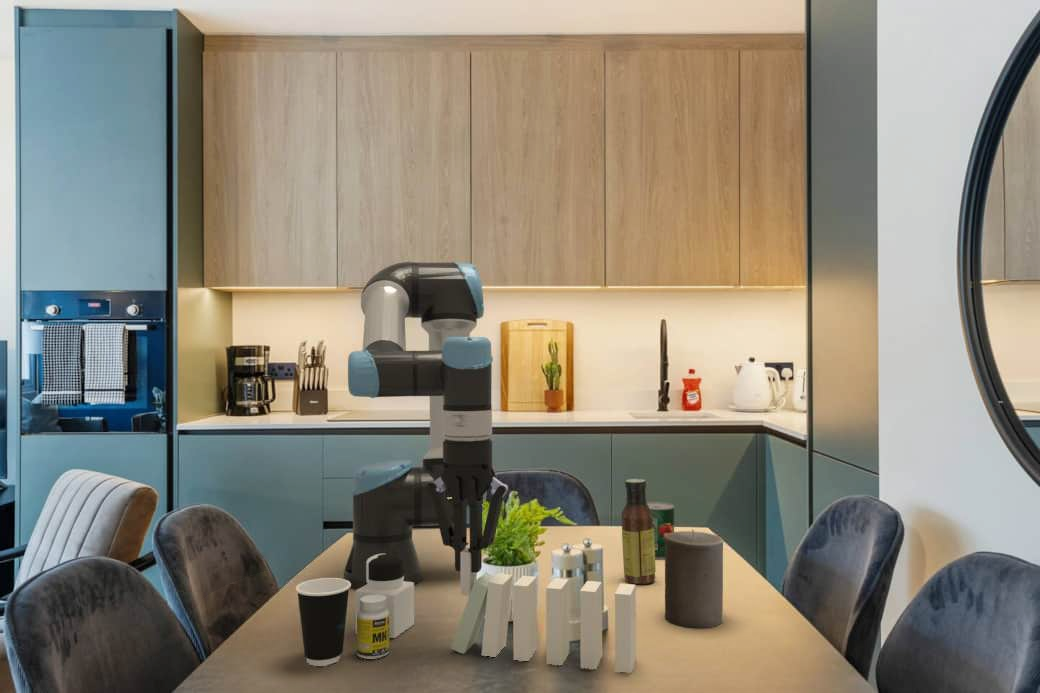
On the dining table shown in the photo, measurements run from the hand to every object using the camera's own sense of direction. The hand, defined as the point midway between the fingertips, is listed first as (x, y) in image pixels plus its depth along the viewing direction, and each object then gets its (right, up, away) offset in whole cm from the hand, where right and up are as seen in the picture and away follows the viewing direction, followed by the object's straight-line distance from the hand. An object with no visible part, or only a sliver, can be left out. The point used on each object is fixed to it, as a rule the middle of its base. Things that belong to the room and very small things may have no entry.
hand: (468, 592), depth 118 cm
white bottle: (-14, -9, +8) cm, 19 cm away
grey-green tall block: (-1, -8, 0) cm, 8 cm away
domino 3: (+13, -8, -4) cm, 16 cm away
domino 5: (+23, -8, -7) cm, 25 cm away
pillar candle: (+37, -9, +13) cm, 40 cm away
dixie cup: (-21, -9, -4) cm, 23 cm away
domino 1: (+4, -8, -1) cm, 9 cm away
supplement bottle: (-14, -9, -2) cm, 17 cm away
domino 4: (+18, -8, -5) cm, 21 cm away
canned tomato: (+38, -9, +54) cm, 67 cm away
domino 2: (+9, -8, -3) cm, 12 cm away
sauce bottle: (+31, -9, +35) cm, 47 cm away
